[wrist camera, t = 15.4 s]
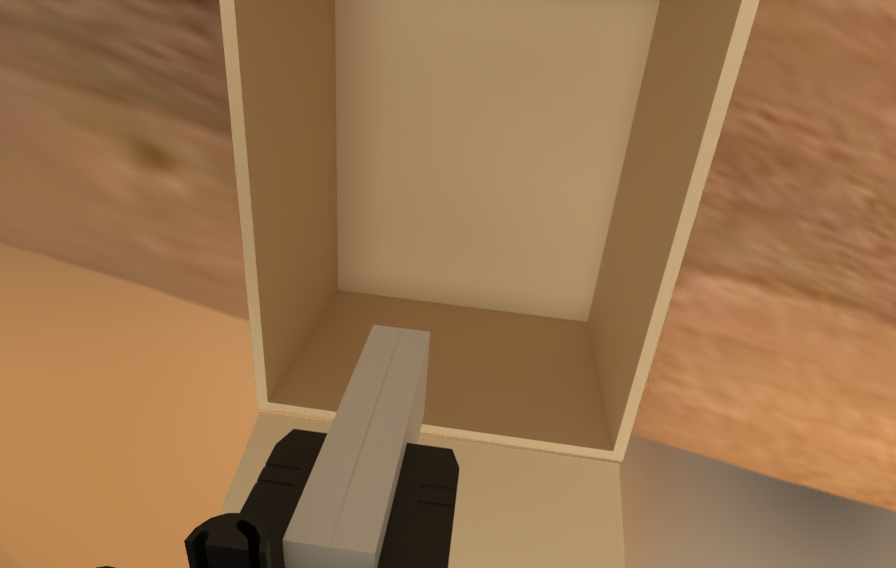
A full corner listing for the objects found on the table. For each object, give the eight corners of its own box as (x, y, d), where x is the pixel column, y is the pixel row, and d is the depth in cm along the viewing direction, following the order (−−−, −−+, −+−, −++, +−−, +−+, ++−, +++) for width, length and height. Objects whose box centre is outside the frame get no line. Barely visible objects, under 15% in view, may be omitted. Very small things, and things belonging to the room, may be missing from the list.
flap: (619, 463, 30) (616, 467, 30) (259, 412, 31) (261, 416, 32) (636, 756, 22) (633, 756, 23) (157, 671, 23) (162, 672, 24)
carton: (327, -72, 33) (208, -113, 20) (678, -42, 32) (779, -67, 19) (332, 292, 44) (257, 409, 31) (593, 325, 43) (622, 461, 30)
